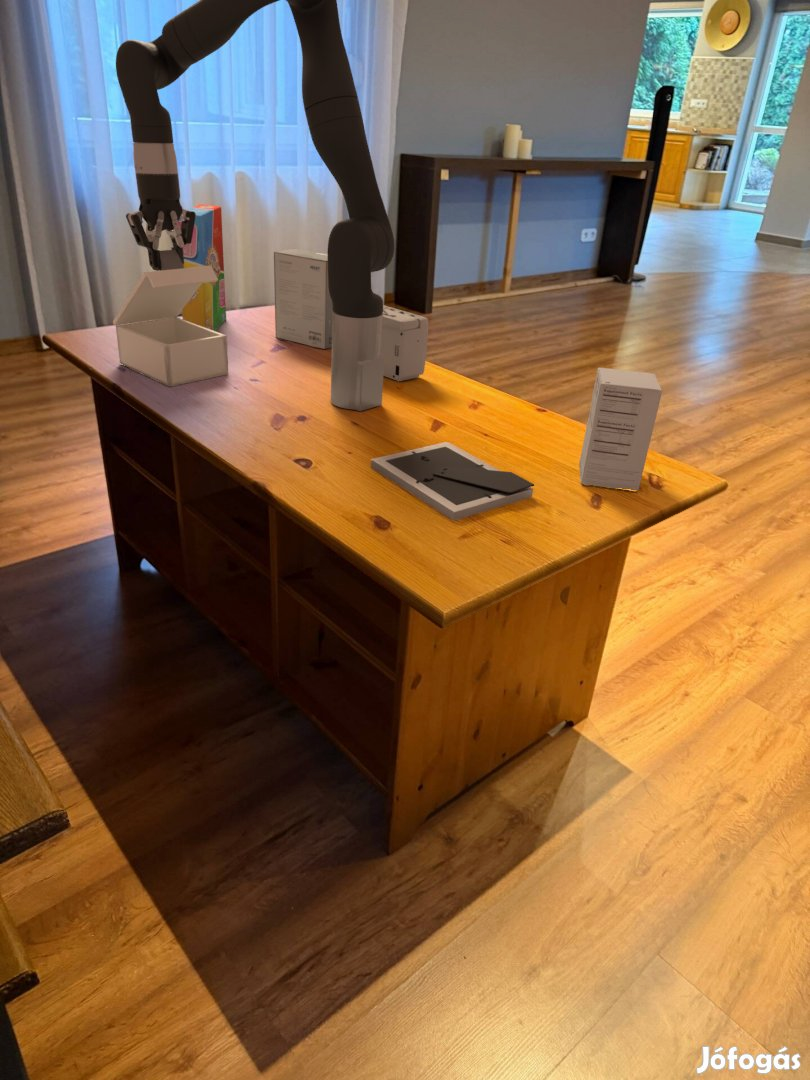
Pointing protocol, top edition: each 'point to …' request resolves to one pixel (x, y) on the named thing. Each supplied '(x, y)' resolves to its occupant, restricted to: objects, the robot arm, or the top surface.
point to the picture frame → (452, 480)
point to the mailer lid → (163, 290)
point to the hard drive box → (302, 298)
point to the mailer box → (172, 350)
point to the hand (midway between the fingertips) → (167, 268)
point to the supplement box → (619, 428)
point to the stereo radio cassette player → (403, 344)
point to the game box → (206, 251)
